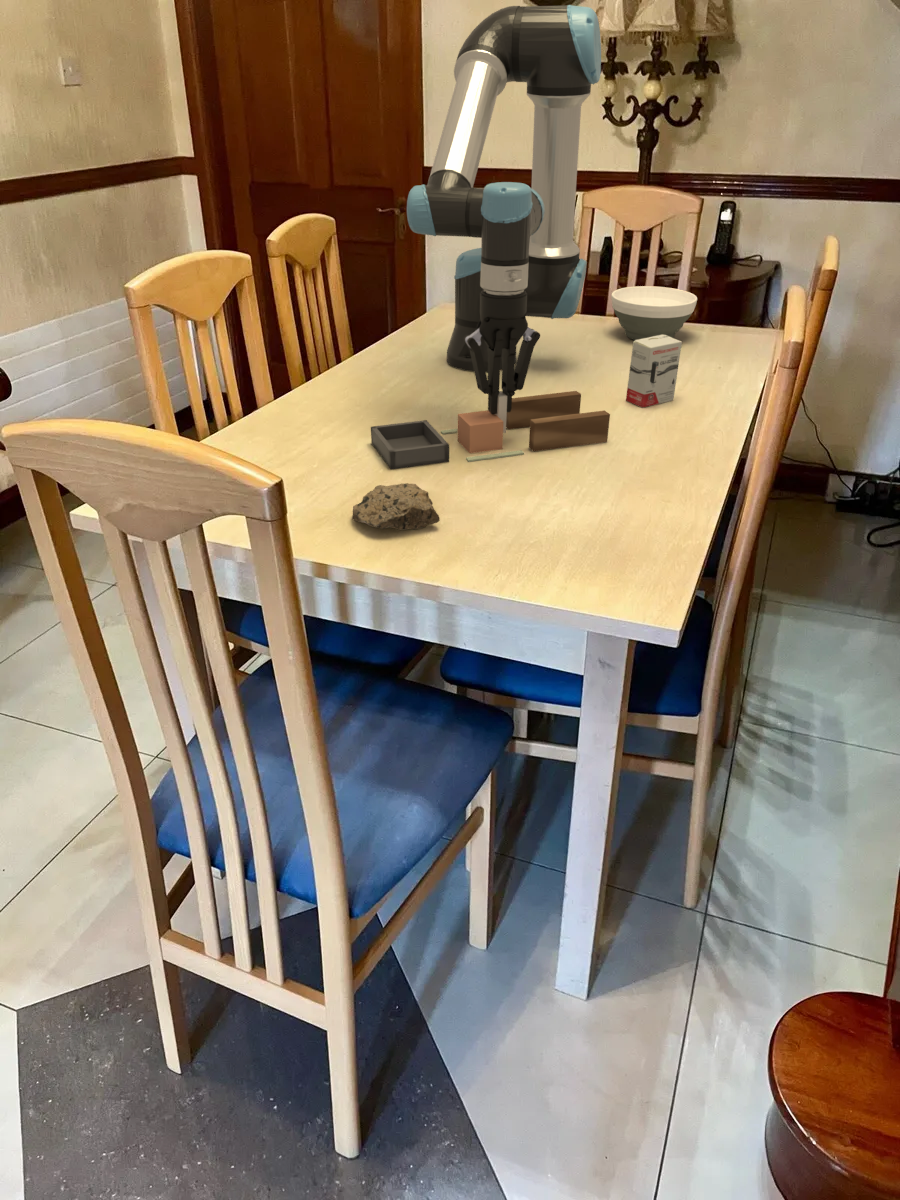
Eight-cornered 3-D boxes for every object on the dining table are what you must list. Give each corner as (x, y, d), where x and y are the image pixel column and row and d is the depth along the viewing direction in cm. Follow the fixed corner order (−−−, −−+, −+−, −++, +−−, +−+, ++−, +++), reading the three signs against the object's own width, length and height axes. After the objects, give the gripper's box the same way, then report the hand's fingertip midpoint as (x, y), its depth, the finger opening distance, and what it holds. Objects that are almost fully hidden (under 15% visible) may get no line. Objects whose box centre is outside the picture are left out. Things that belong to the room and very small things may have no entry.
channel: (504, 425, 164) (505, 398, 161) (574, 416, 168) (576, 390, 165) (533, 451, 153) (535, 423, 151) (607, 441, 157) (610, 414, 155)
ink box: (642, 408, 172) (650, 346, 166) (624, 401, 176) (631, 340, 169) (674, 400, 176) (683, 339, 170) (656, 393, 180) (664, 333, 173)
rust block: (457, 441, 158) (457, 413, 155) (489, 437, 159) (490, 410, 157) (469, 454, 153) (470, 425, 150) (502, 449, 154) (503, 421, 152)
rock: (348, 508, 135) (346, 481, 133) (424, 500, 137) (424, 473, 135) (360, 541, 126) (359, 512, 123) (442, 532, 128) (442, 504, 126)
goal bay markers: (440, 432, 161) (440, 430, 161) (492, 425, 164) (492, 424, 164) (468, 461, 149) (468, 460, 149) (524, 454, 152) (524, 452, 152)
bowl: (699, 349, 206) (706, 306, 201) (613, 348, 206) (618, 305, 201) (681, 326, 223) (687, 286, 218) (602, 325, 223) (606, 285, 218)
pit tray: (371, 443, 156) (370, 426, 155) (426, 436, 159) (426, 420, 158) (390, 469, 147) (390, 452, 145) (449, 461, 149) (449, 444, 148)
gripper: (473, 298, 139) (471, 442, 152) (550, 292, 143) (542, 433, 155) (457, 287, 145) (456, 427, 158) (531, 282, 149) (524, 418, 161)
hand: (498, 430), depth 156 cm, fingers closed
